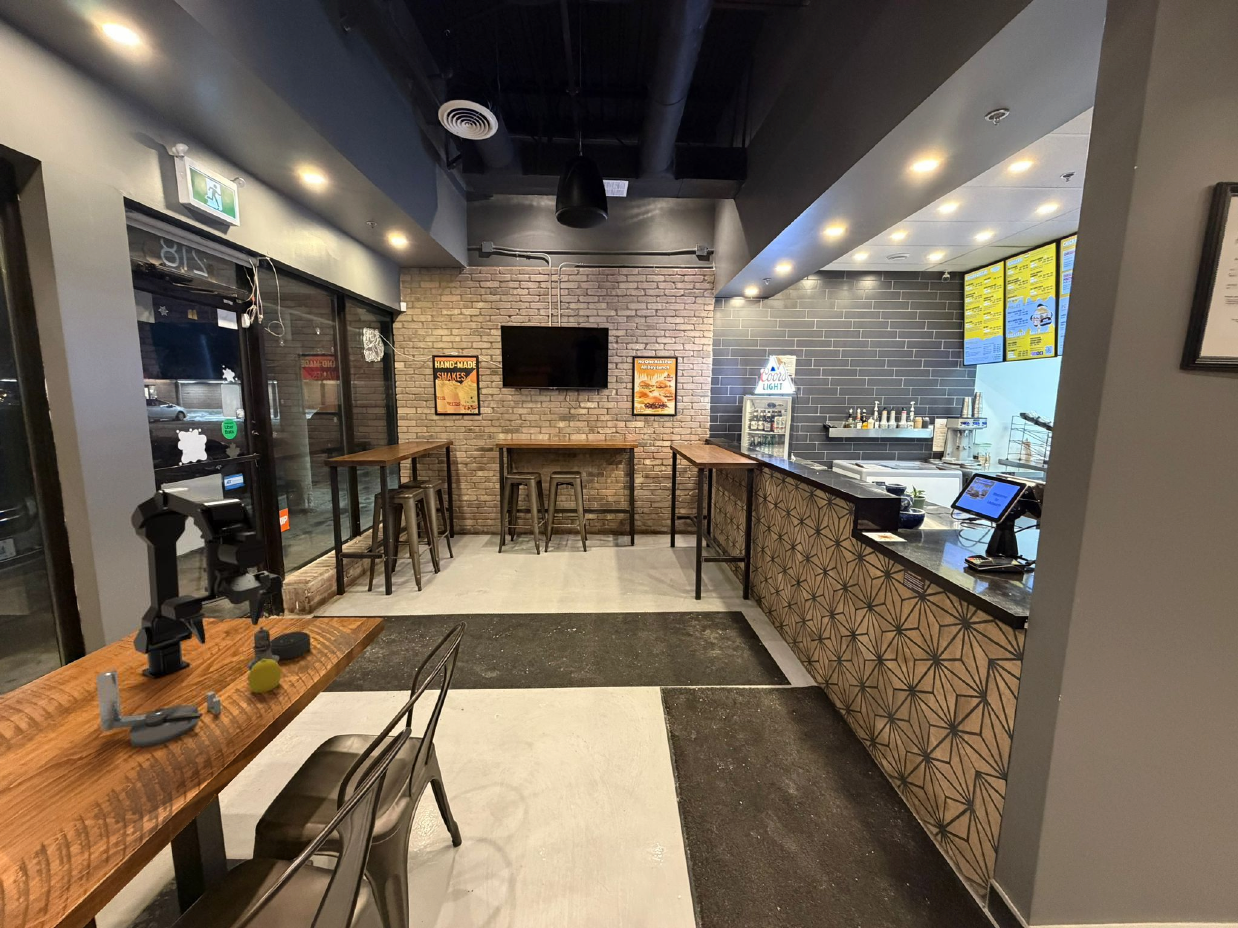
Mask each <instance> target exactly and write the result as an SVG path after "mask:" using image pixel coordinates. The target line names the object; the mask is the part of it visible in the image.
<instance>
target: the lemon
mask: <svg viewBox="0 0 1238 928" xmlns="http://www.w3.org/2000/svg"><path fill="white" fill-rule="evenodd" d="M281 676H282V670H281V667H280V665H279V662H278V663H277V662H276V661H274V660H272V659H262V660H261V661H259V662H258V663H256V664H255V665H254V666H253V667H252V669H251V671H250V670H249V674H248V685H249V688H250V690H251V691H252V692H253V693H255V694H263V693H267V692H270V691H272V690H274V689H275V688H277V686H278V684H279V683H280V682H281V679H282V677H281Z"/></svg>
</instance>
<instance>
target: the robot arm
mask: <svg viewBox="0 0 1238 928" xmlns="http://www.w3.org/2000/svg"><path fill="white" fill-rule="evenodd" d="M130 518H131V519H130V521H131V525H132V528H133V529H134V531H135V535H136V536H137V537H138V538H139V539H141V540H142V542H144V543H145V544H146V548H147V549H146V550H147V551H146V552H147V565H148V566H147V567H148V568H147V569H148V580H149V581H148V582H149V584H148V585H149V597H150V606H149V607H148V609H147V610H146V611H145V613H144V614H143V616H142V618H141V626H140V627H141V628H139V630H138V632H137V634H136V635H135V638H134V639H133V646H134V650H135V651H136V652H139V653H141V654H143V655H147V665H148V668H144V669H142V670H141V674H144V675H145V676H148V677H150V678H152V679H158V678H161V677H163V676H166V675H168V674H171V673H174V672H176V671H180V670H181V669H184V668H188V667H189V666H191V662H188V661H187V660H183V649H182V642H184V641H188V640H192V638H193V637H192V636H193V635H194V636H195V638H196V640H197V641H198V642H199V643H200V644H202V645H204V644H206V633H205V632H206V631H205V627H204V621H203V619H204V617H205V615H206V614H205V613H203V612H201V611H202V610H203V606H206V605H210V604H213V603H216V602H219V601H223V600H228V601H229V603H231V605H235V606H236V605H241V604H244V603H245V602H248V605H249V606H248V607H249V615H250V619H251V624H252V625H253V626H257V625H258V623H259V621H260V618H261V616H262V612H263V609H264V607H265V605H266V602H267V601H268V600H269V598H271V597H272V595H275V594H277V592H278V591H277V590H281V589H283V588H284V580H283V578H282V576H280V575H278V574H275V573H269V572H268V571H267V570H264V571H260V572H257V573H253V574H252V573H251V574H250V573H249V571H248V569H253V568H257V567H258V566H261V564H263V563H265V561H266V559H267V558H268V556H269V553H270V552H269V549H270V548H269V546H268V545H267V543H266V542H265V541H263V540H262V539H258V538H257V533H256V532H257V530H258V529H257V526H256V521H255V519H254V518H253V517H252V515H251V513H250V511H249V510H248V508H247V507H246V505H245V504H244V503H243V502H242V501H241V500H239V499H238V498H216V499H215V498H211V497H209V496H205V495H203V494H200V493H197V492H194V491H192V490H190V488H188V487H172V488H164V489H160V490H157V491H156V492H155V493H154V495H152V497H149V498H148V499H147V500H144V501H143V502H141V503H140V504H138V505H137V506H136V508H135V510H134V511H133V513H132V515H131V517H130ZM189 518H192V519H193V525H194V526H195V527H196V528H197V529H198V530H199V532H201V534H200V536H199V537H200V539H202V540H203V544H204V557H205V566H203V568H202V572H203V573H206V580H207V581H206V584H207V585H206V586H204V592H205V593H207V594H205V595H200V596H194V595H192V594H188V593H187V594H184V595H180V587H179V586H180V585H179V584H180V583H179V568H178V567H179V565H178V550H177V549H178V548H177V543H178V540H180V538H181V537H182V535H183V534H184V533H185V531H186V523H187V520H188V519H189Z"/></svg>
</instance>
